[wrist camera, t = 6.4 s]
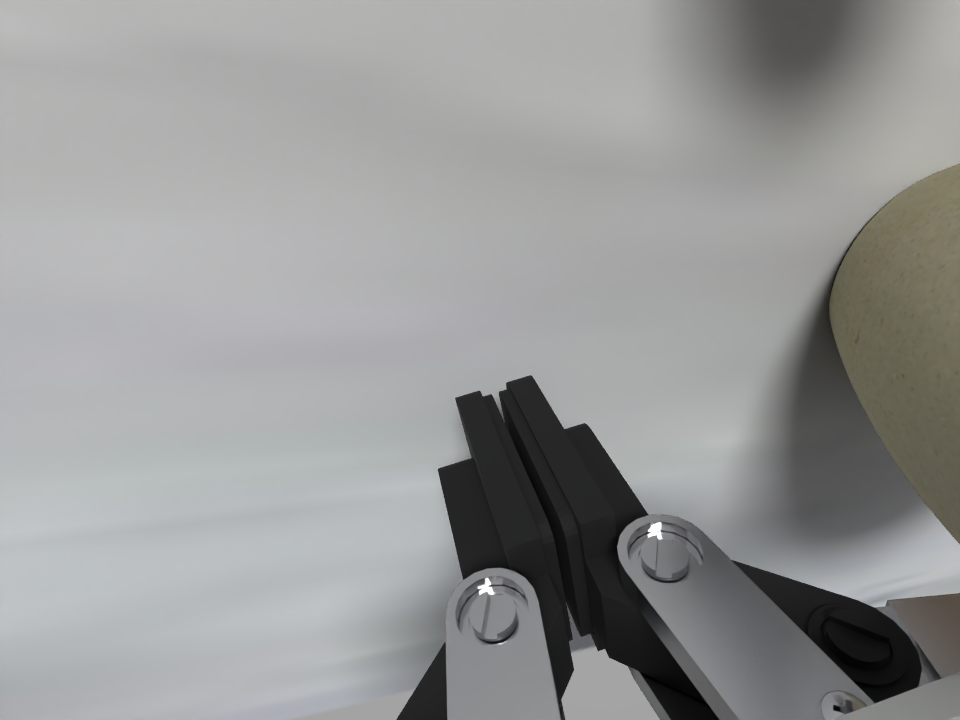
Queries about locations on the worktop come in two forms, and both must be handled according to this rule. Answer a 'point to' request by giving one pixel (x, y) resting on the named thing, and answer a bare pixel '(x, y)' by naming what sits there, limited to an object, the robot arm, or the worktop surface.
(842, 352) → the flower pot
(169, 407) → the worktop surface
